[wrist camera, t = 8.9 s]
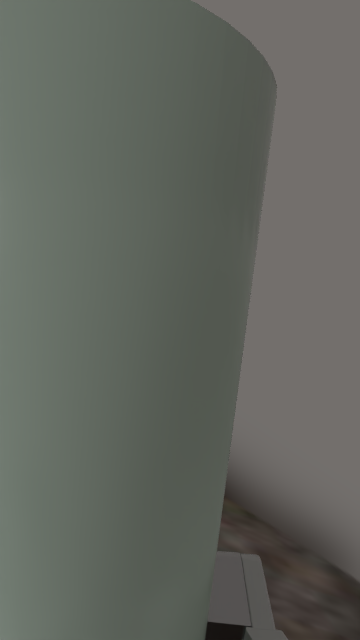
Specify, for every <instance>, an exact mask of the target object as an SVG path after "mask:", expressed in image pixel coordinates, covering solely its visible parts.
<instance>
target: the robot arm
mask: <svg viewBox="0 0 360 640" xmlns="http://www.w3.org/2000/svg"><path fill="white" fill-rule="evenodd" d="M205 640H288V639H287V638H286V636H285V635H284V633H283V632H282V631H280V630H275V625H274V620H273V616H272V611H271V606H270V601H269V596H268V592H267V587H266V582H265V577H264V573H263V568H262V563H261V559H260V557H259V556H258V555H252V554H239V553H235V552H222V551H217V552H216V560H215V567H214V575H213V583H212V590H211V598H210V605H209V613H208V621H207V628H206V636H205Z"/></svg>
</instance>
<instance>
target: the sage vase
mask: <svg viewBox="0 0 360 640" xmlns="http://www.w3.org/2000/svg"><path fill="white" fill-rule="evenodd" d="M276 91H277V85H276V81H275V78H274V75H273V72H272V70H271V68H270V67H269V65H268V63H267V61H266V60H265V58H264V57H263V55H262V54H261V53H260V52H259V51H258V50H257V49H256V47H255V46H254V45H253V44H252V43H251V42H250V41H249V40H248V39H247V38H246V37H244V36H243V35H242V34H240V32H238V31H237V30H236V29H235V28H233V27H232V26H231V25H230V24H229V23H227V22H226V21H224V20H223V19H221V18H219V17H218V16H216V15H214V14H213V13H211V12H210V11H208V10H207V9H205V8H203V7H202V6H200V5H199V4H197V3H195V2H193V1H191V0H0V640H205V636H206V628H207V621H208V613H209V605H210V598H211V590H212V583H213V575H214V567H215V560H216V552H217V545H218V537H219V530H220V522H221V514H222V507H223V499H224V491H225V484H226V476H227V468H228V461H229V454H230V445H231V438H232V431H233V422H234V416H235V408H236V401H237V393H238V385H239V377H240V370H241V363H242V355H243V347H244V340H245V332H246V325H247V316H248V309H249V302H250V294H251V286H252V279H253V271H254V264H255V256H256V249H257V241H258V234H259V226H260V218H261V211H262V202H263V196H264V188H265V181H266V173H267V165H268V158H269V149H270V142H271V135H272V127H273V120H274V112H275V105H276V97H277V95H276V94H277V92H276Z"/></svg>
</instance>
